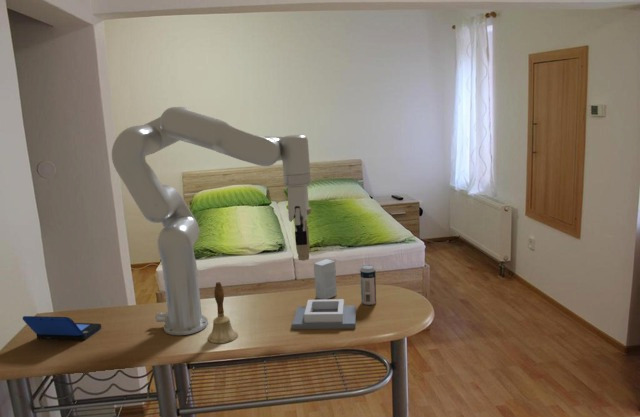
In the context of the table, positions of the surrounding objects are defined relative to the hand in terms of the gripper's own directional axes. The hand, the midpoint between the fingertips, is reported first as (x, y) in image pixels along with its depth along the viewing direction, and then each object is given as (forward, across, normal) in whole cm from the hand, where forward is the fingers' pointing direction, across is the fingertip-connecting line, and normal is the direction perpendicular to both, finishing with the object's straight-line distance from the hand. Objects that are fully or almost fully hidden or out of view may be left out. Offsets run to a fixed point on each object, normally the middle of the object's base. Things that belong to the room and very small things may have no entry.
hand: (302, 241), depth 147 cm
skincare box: (+24, -18, +4) cm, 30 cm away
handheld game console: (+23, +9, -70) cm, 75 cm away
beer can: (+25, -12, +18) cm, 33 cm away
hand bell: (+24, +11, -23) cm, 35 cm away
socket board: (+24, 0, +5) cm, 25 cm away
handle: (+5, 0, 0) cm, 5 cm away
